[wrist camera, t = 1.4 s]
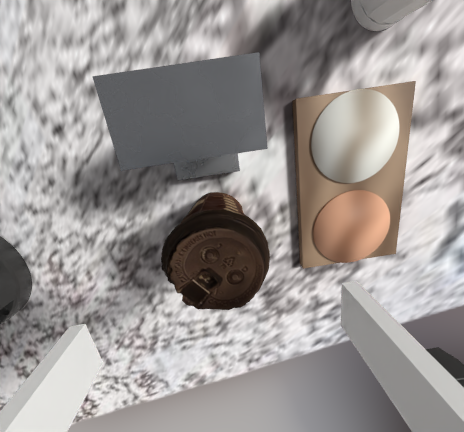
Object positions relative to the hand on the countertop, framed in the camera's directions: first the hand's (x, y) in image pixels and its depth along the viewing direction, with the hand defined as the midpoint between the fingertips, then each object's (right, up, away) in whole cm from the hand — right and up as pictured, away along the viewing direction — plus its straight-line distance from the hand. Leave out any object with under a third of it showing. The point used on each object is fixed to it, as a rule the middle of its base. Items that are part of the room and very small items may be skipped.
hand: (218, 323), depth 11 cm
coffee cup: (-1, +6, +17) cm, 18 cm away
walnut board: (+15, +10, +16) cm, 24 cm away
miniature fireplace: (-3, +14, +14) cm, 20 cm away
